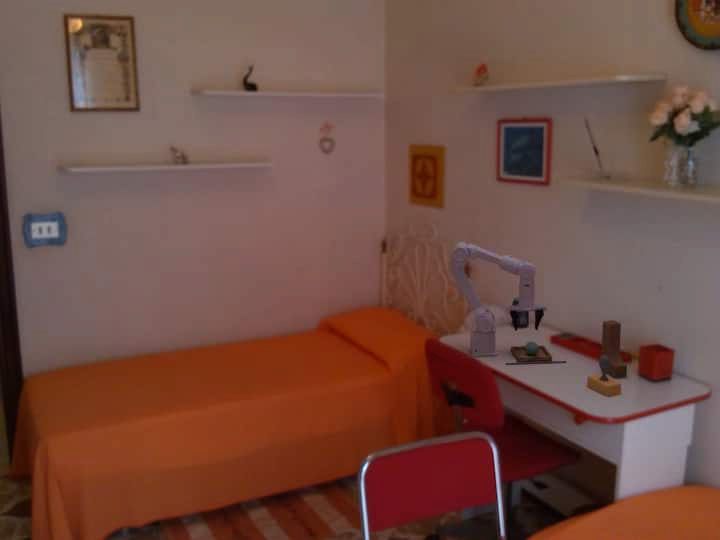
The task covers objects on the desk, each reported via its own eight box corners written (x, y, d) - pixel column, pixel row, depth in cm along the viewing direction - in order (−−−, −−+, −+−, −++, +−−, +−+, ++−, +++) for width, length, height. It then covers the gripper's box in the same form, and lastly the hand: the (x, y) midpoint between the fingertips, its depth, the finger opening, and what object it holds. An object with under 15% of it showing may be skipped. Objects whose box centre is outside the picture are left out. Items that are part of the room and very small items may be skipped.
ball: (525, 356, 263) (527, 343, 262) (522, 352, 268) (524, 339, 267) (539, 357, 263) (540, 344, 262) (535, 352, 268) (537, 340, 267)
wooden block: (626, 377, 241) (629, 326, 237) (615, 378, 240) (617, 328, 236) (612, 368, 250) (613, 319, 246) (600, 369, 249) (602, 320, 245)
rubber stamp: (586, 386, 235) (587, 352, 232) (600, 383, 237) (601, 349, 235) (607, 397, 226) (608, 361, 223) (621, 393, 228) (622, 358, 226)
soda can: (518, 322, 307) (519, 296, 304) (532, 326, 302) (532, 298, 299) (508, 326, 303) (508, 299, 300) (521, 329, 297) (522, 302, 295)
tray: (517, 362, 260) (517, 357, 259) (510, 351, 272) (510, 346, 271) (551, 361, 259) (552, 356, 259) (543, 349, 272) (543, 345, 271)
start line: (506, 365, 257) (506, 364, 257) (505, 363, 259) (505, 363, 258) (566, 362, 257) (566, 362, 257) (565, 361, 258) (565, 360, 258)
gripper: (509, 298, 259) (508, 333, 262) (548, 296, 259) (548, 332, 262) (505, 293, 266) (505, 327, 269) (544, 292, 266) (543, 326, 269)
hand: (526, 329), depth 266 cm, fingers open, 7 cm apart
